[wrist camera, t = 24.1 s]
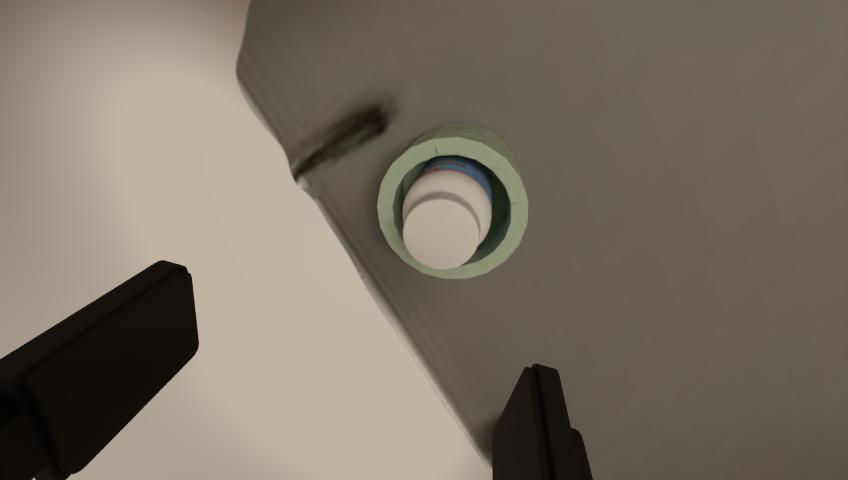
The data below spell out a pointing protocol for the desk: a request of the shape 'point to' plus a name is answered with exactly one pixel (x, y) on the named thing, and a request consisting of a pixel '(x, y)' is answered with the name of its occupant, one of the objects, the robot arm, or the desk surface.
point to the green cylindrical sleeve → (505, 195)
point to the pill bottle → (447, 211)
